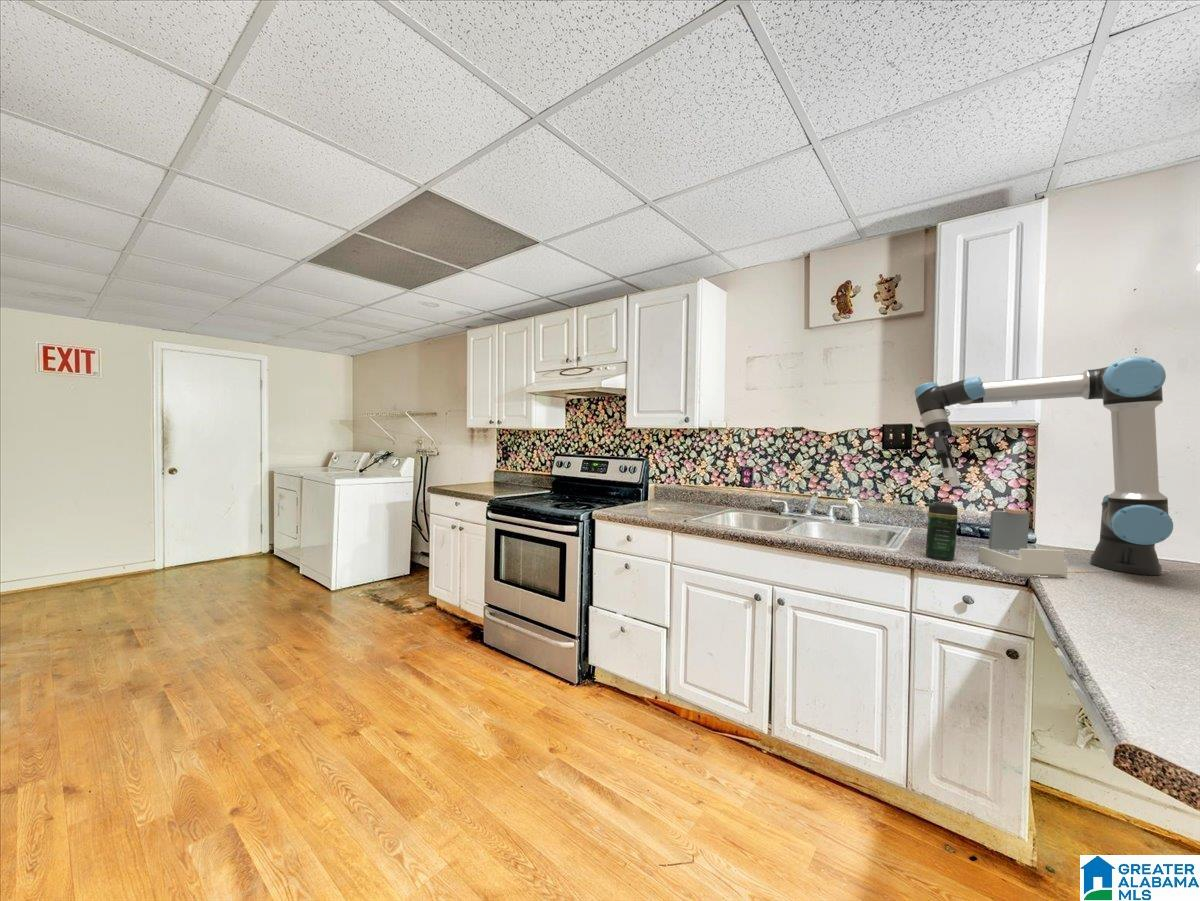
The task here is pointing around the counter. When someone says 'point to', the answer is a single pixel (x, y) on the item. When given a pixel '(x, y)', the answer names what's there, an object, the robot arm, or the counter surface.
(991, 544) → the pusher
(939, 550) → the coffee jar
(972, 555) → the counter surface
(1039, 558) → the tray
